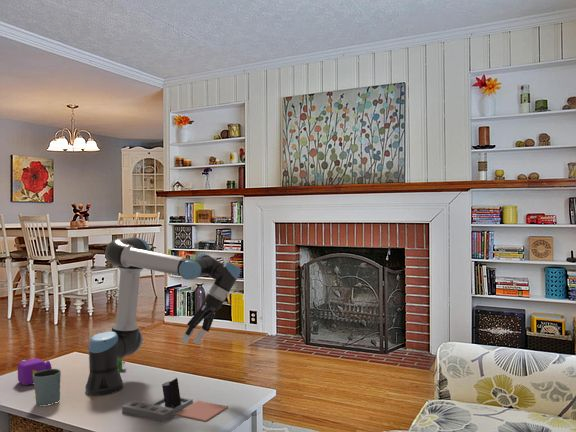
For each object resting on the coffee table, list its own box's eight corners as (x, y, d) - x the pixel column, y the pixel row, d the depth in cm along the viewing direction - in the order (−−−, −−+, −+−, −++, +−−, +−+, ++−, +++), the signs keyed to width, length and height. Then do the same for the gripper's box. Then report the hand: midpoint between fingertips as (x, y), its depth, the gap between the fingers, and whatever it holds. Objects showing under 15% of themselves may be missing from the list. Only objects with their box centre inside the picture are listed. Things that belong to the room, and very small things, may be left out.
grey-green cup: (57, 406, 193) (56, 375, 193) (29, 408, 191) (28, 377, 191) (64, 396, 203) (63, 367, 203) (38, 398, 201) (37, 369, 201)
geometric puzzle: (110, 363, 241) (109, 352, 236) (125, 361, 243) (124, 351, 238) (110, 375, 235) (109, 365, 231) (125, 373, 237) (124, 363, 233)
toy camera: (56, 378, 226) (56, 357, 226) (27, 387, 214) (26, 365, 214) (43, 374, 232) (42, 353, 232) (13, 383, 220) (13, 361, 220)
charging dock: (122, 412, 185) (121, 405, 185) (157, 395, 202) (157, 388, 202) (163, 422, 176) (163, 414, 176) (196, 402, 193) (196, 395, 193)
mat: (175, 415, 182) (175, 413, 182) (198, 401, 194) (198, 400, 194) (206, 421, 175) (206, 420, 175) (227, 407, 188) (227, 406, 188)
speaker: (185, 404, 192) (182, 377, 192) (173, 409, 187) (170, 382, 187) (173, 401, 196) (170, 375, 197) (161, 406, 192) (158, 380, 192)
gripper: (213, 297, 191) (185, 346, 188) (231, 304, 215) (207, 348, 212) (198, 288, 194) (170, 336, 190) (218, 296, 217) (193, 339, 214)
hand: (189, 342), depth 201 cm, fingers open, 13 cm apart
